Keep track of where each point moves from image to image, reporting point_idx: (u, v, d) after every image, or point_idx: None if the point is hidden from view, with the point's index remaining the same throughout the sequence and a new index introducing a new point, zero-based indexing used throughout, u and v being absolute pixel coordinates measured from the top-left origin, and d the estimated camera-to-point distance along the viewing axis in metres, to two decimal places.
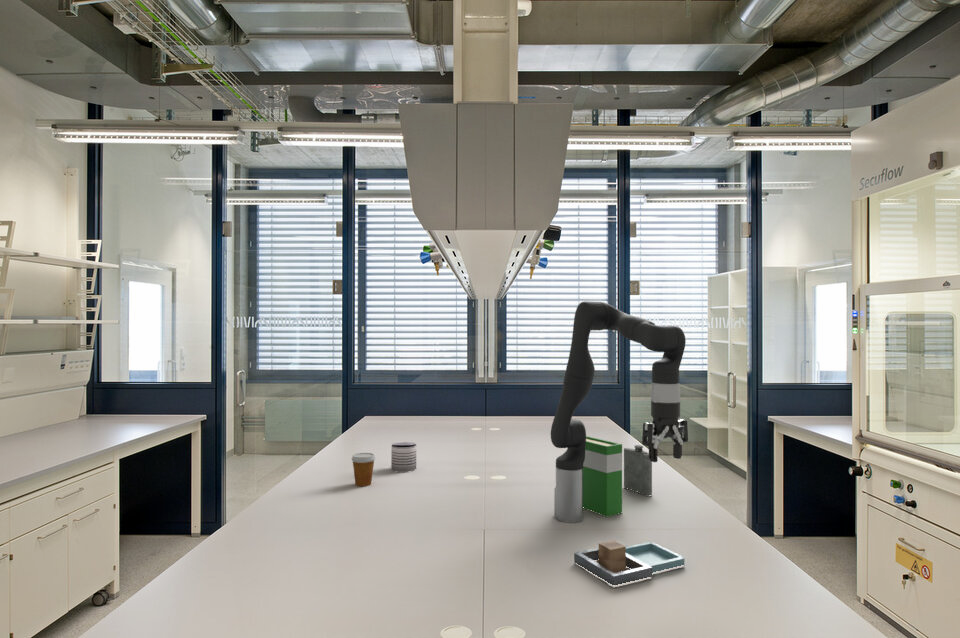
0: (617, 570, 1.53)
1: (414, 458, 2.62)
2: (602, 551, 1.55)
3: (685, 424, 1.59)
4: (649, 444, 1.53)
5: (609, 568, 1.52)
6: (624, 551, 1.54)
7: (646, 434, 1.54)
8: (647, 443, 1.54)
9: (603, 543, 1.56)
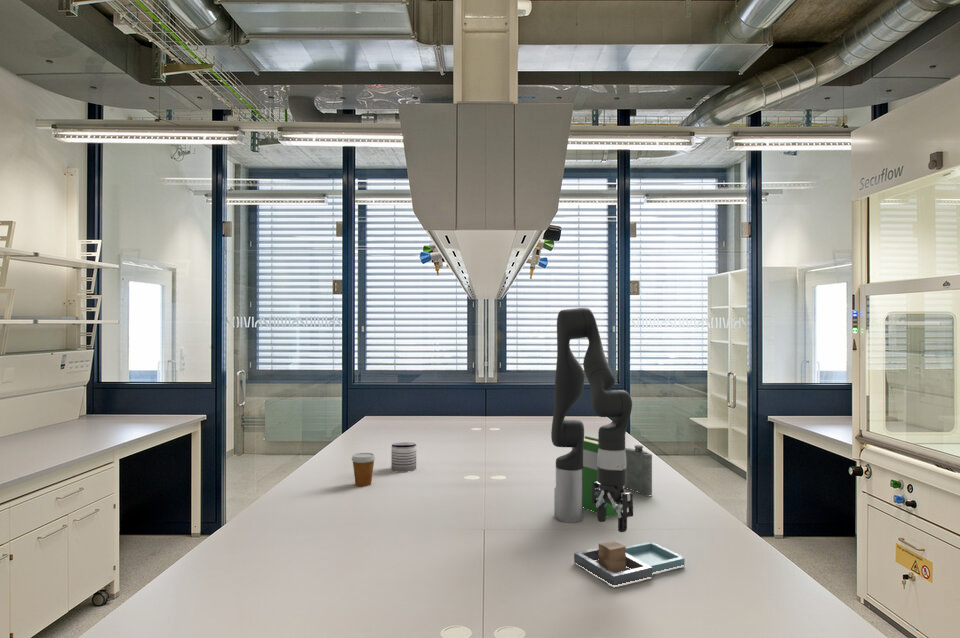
0: (617, 570, 1.53)
1: (414, 458, 2.62)
2: (602, 551, 1.55)
3: None
4: None
5: (609, 568, 1.52)
6: (624, 551, 1.54)
7: (630, 505, 1.49)
8: (631, 514, 1.49)
9: (603, 543, 1.56)
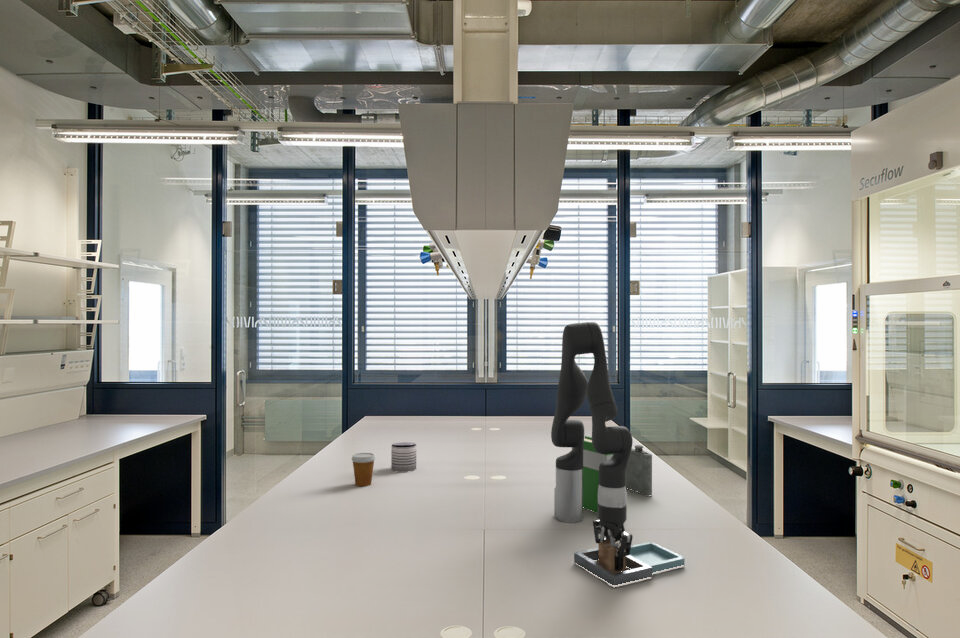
0: None
1: (414, 458, 2.62)
2: (602, 551, 1.55)
3: None
4: None
5: (609, 568, 1.52)
6: None
7: (628, 546, 1.50)
8: (628, 554, 1.51)
9: (603, 543, 1.57)
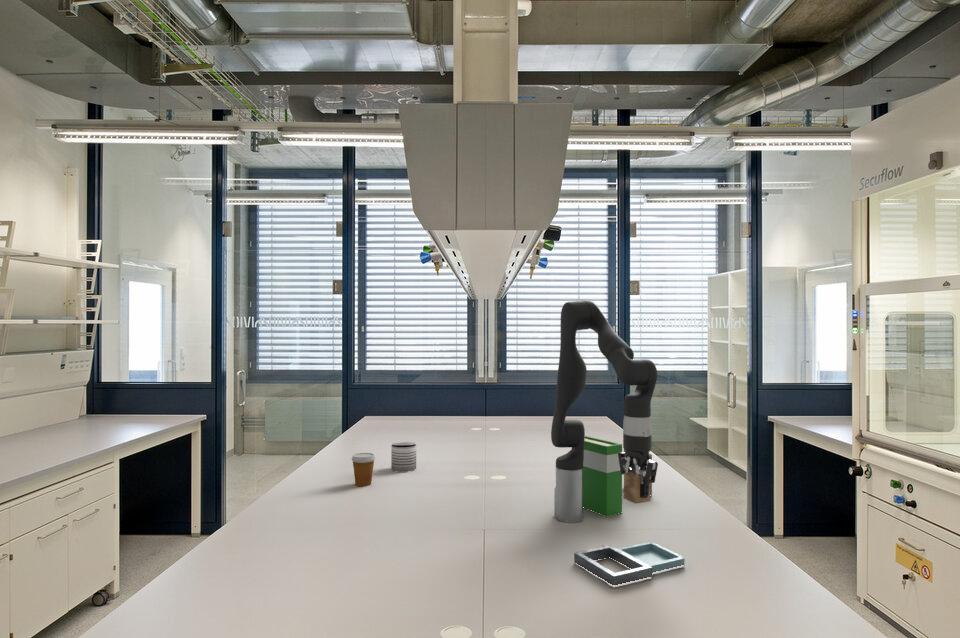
0: (642, 498, 1.57)
1: (414, 458, 2.62)
2: (627, 480, 1.59)
3: None
4: None
5: (634, 495, 1.57)
6: None
7: (653, 473, 1.54)
8: (653, 481, 1.55)
9: (628, 473, 1.61)
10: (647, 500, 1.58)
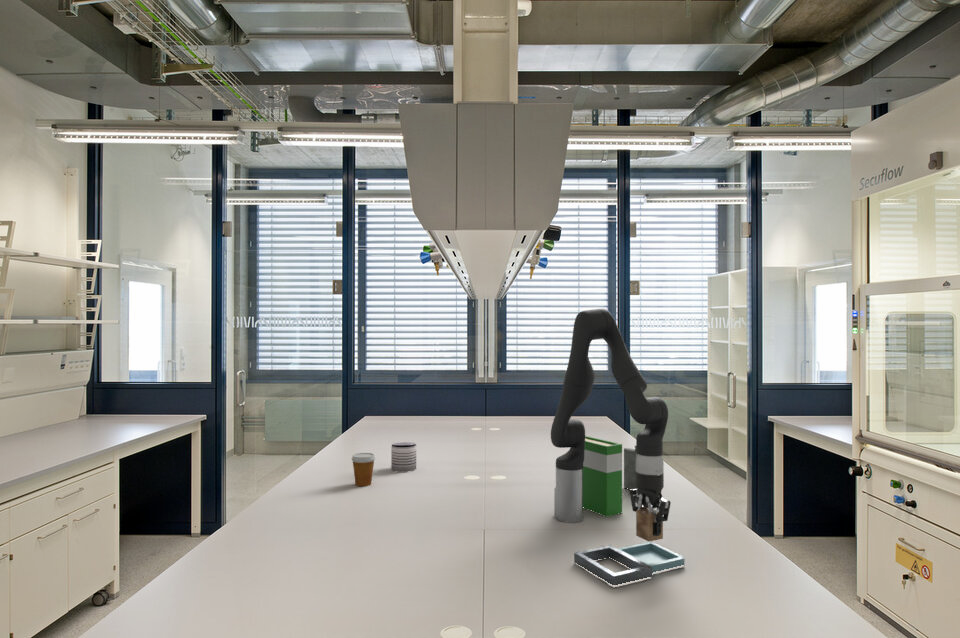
0: None
1: (414, 458, 2.62)
2: (640, 517, 1.61)
3: None
4: None
5: (647, 533, 1.58)
6: None
7: (666, 512, 1.56)
8: (666, 519, 1.56)
9: (640, 510, 1.62)
10: (660, 538, 1.59)
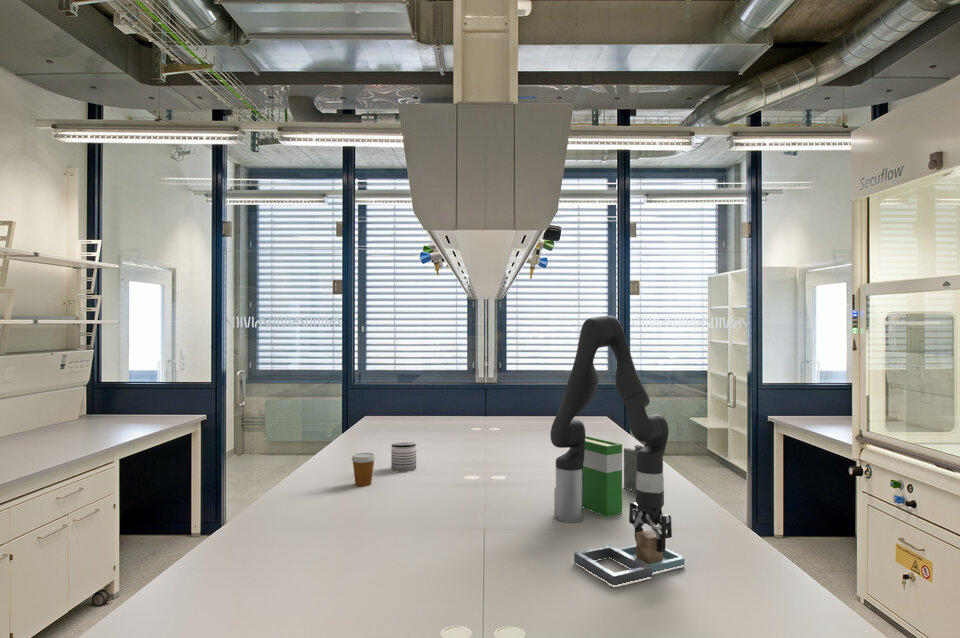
0: (655, 558, 1.59)
1: (414, 458, 2.62)
2: (640, 540, 1.61)
3: None
4: None
5: (647, 556, 1.58)
6: None
7: (669, 527, 1.55)
8: (670, 535, 1.55)
9: (641, 532, 1.62)
10: (660, 560, 1.60)
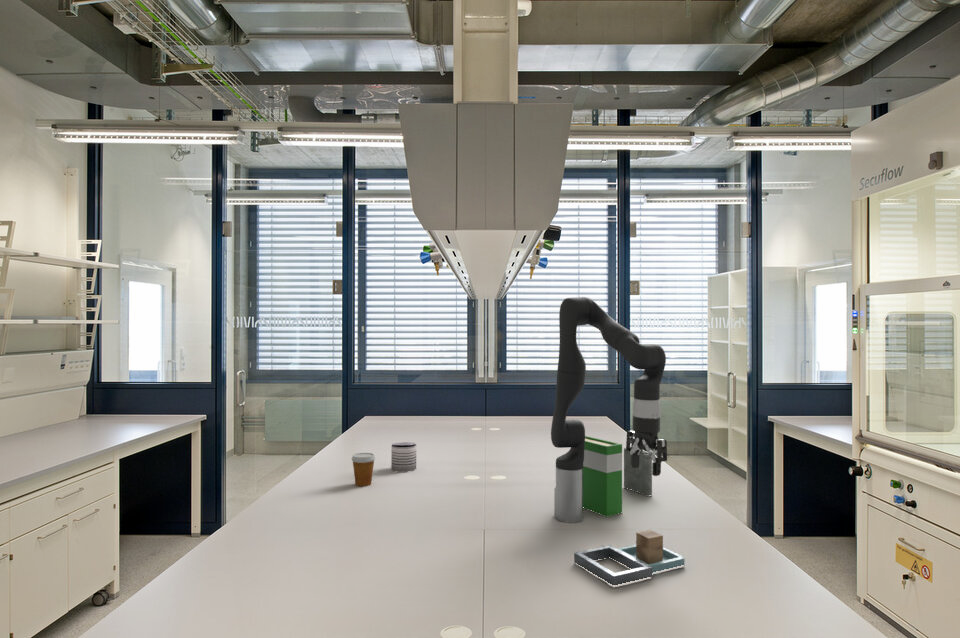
0: (655, 558, 1.59)
1: (414, 458, 2.62)
2: (640, 540, 1.61)
3: None
4: None
5: (647, 556, 1.58)
6: (661, 540, 1.60)
7: (664, 450, 1.60)
8: (665, 458, 1.60)
9: (641, 532, 1.62)
10: (660, 560, 1.60)
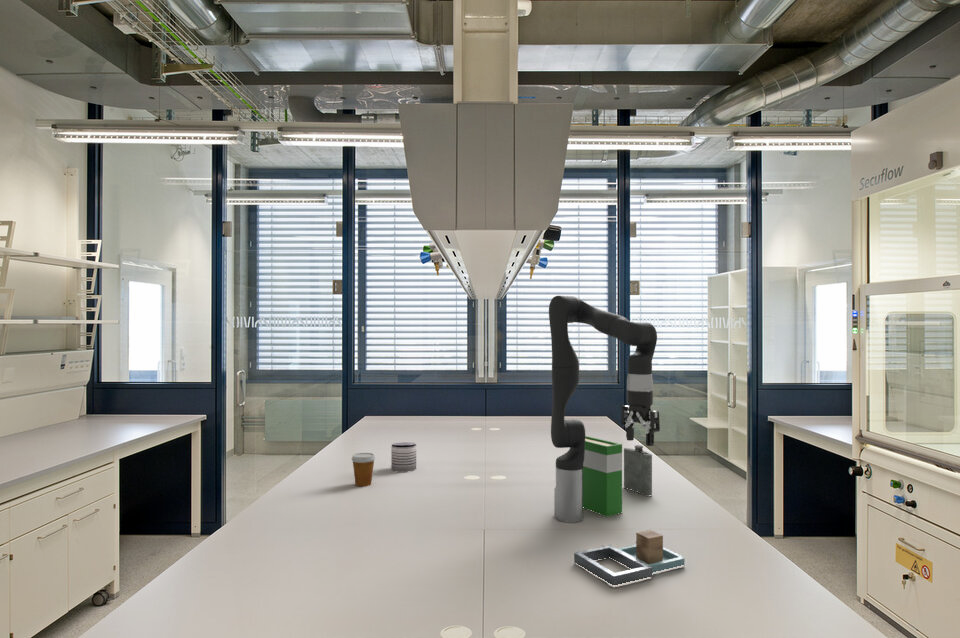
0: (655, 558, 1.59)
1: (414, 458, 2.62)
2: (640, 540, 1.61)
3: None
4: None
5: (647, 556, 1.58)
6: (661, 540, 1.60)
7: (657, 421, 1.69)
8: (658, 429, 1.69)
9: (641, 532, 1.62)
10: (660, 560, 1.60)
